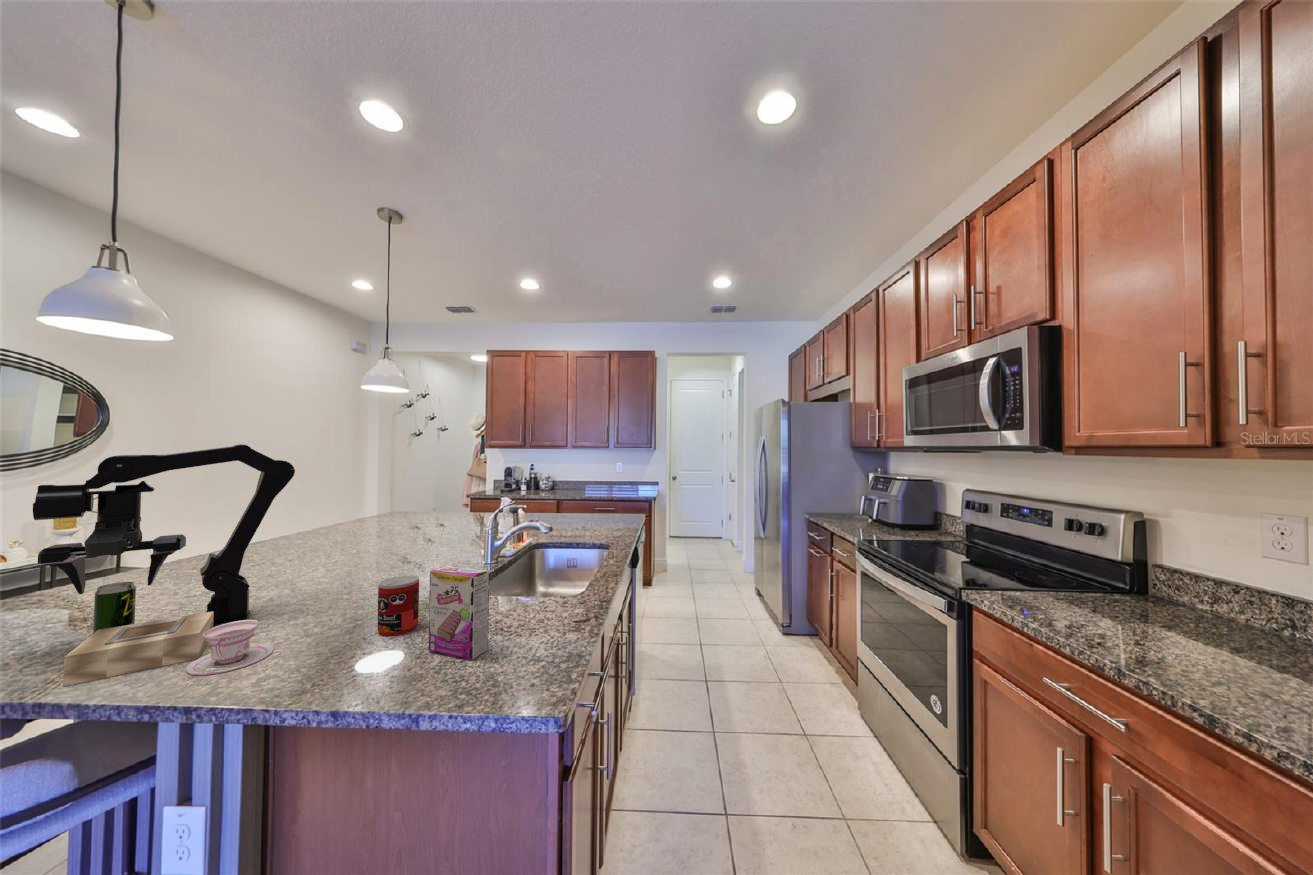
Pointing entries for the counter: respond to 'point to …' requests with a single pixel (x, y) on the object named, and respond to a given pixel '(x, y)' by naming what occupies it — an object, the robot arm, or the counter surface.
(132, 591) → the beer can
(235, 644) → the teacup
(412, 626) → the canned food
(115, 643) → the socket block
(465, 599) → the candy bar box
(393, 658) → the counter surface
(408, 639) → the counter surface
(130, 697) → the counter surface
